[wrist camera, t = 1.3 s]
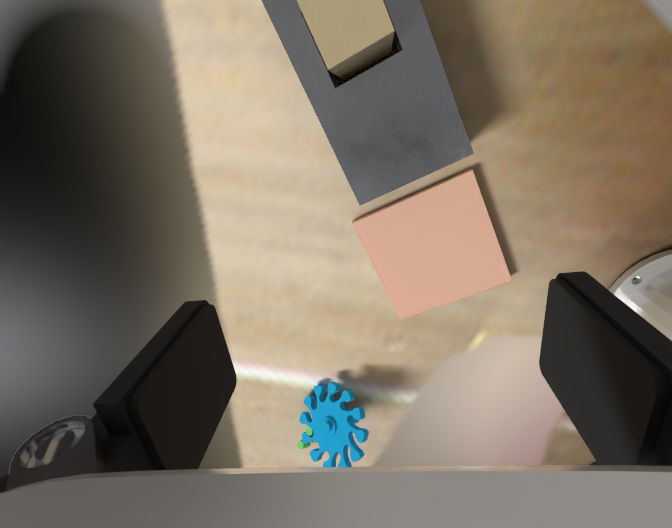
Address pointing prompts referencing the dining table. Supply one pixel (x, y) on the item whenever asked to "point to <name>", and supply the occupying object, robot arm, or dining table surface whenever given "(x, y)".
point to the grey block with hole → (380, 102)
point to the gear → (332, 426)
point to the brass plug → (349, 32)
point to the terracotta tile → (434, 246)
